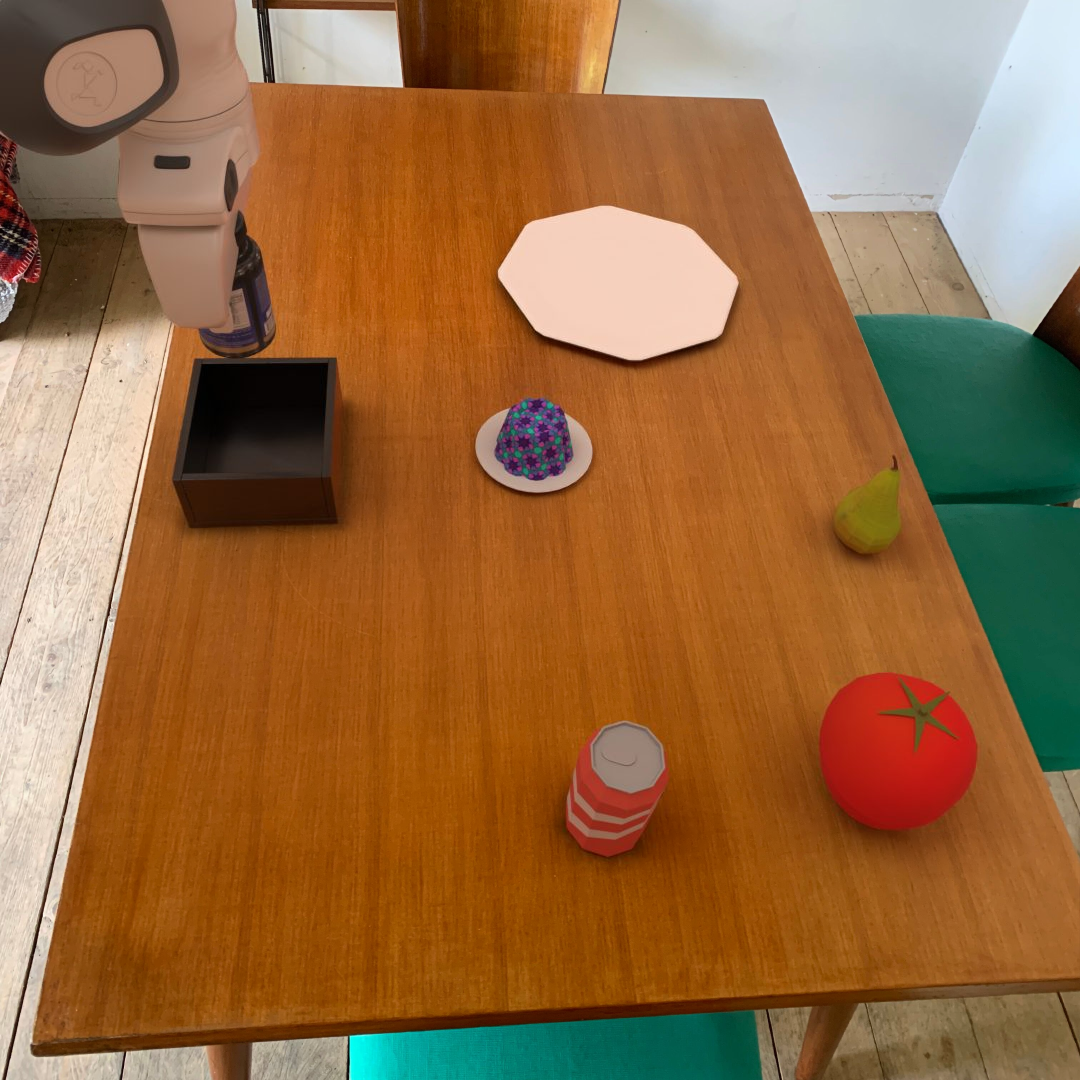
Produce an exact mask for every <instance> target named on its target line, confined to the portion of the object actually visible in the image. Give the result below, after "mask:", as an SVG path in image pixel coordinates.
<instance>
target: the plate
mask: <svg viewBox="0 0 1080 1080" xmlns="http://www.w3.org/2000/svg"><path fill="white" fill-rule="evenodd" d="M497 279H498V281H499V282H500V284H501V285H502V286H503V288H504V289H505V291H506V292H507V294H508V295H509V297H510V298H511V299H512V301H513V302H514V303H515V305H516V306H517V308H518V309H519V311H520V312H521V314H522V315H523V316H524V317H525V319H526V320H527V322H528V323H529V325H530V326H531V327H532V329H533V330H534V332H535V333H537V334H538V335H540V336H542V337H543V338H546V339H550V340H553V341H557V342H560V343H564V344H567V345H571V346H573V347H578V348H581V349H583V350H588V351H592V352H595V353H598V354H602V355H604V356H605V355H606V356H609V357H612V358H616V359H619V360H623V361H626V362H644V361H648V360H651V359H653V358H657V357H660V356H664V355H667V354H671V353H674V352H675V353H676V352H678V351H682V350H685V349H689V348H693V347H695V346H699V345H702V344H706V343H709V342H712V341H715V340H717V339H718V338H719V337H721V336H722V335H723V332H724V329H725V325H726V323H727V319H728V317H729V313H730V311H731V307H732V305H733V303H734V302H733V301H734V298H735V296H736V293H737V290H738V287H739V284H740V282H739V279H738V276H737V275H736V274H735V273H734V272H733V271H732V270H731V269H730V268H729V266H728V265H726V263H725V262H724V261H723V260H722V259H721V258H720V257H719V255H717V254H716V252H715V251H714V250H713V249H712V248H711V247H710V246H709V245H708V244H707V243H706V241H704V239H702V237H701V236H700V235H699V234H698V233H697V232H696V231H695V229H692V228H690V227H689V226H687V225H686V224H681V223H677V222H675V221H671V220H667V219H662V218H659V217H655V216H652V215H651V216H650V215H648V214H644V213H640V212H636V211H631V210H628V209H625V208H622V207H617V206H613V205H599V206H594V207H593V206H592V207H589V208H585V209H580V210H576V211H571V212H566V213H562V214H558V215H553V216H549V217H545V218H540V219H535V220H532V221H530V222H529V223H527V224H526V225H524V226H523V229H522V230H521V232H520V233H519V235H518V237H517V238H516V240H515V242H514V243H513V245H512V246H511V248H510V250H509V251H508V253H507V255H506V257H505V258H504V260H503V262H502V263H501V264H500V266H499V268H498V269H497Z"/></svg>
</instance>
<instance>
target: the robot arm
mask: <svg viewBox="0 0 1080 1080" xmlns="http://www.w3.org/2000/svg"><path fill="white" fill-rule="evenodd" d="M237 20H238V14H237V6H236V1H235V0H0V136H2V137H4V138H6V139H7V140H10V141H11V142H13V143H15V144H16V145H18V146H19V147H21V148H24V149H26V150H28V151H29V152H30V151H31V152H33V153H36V154H41V155H46V156H52V157H67V156H68V157H69V156H75V155H80V154H84V153H86V152H88V151H91V150H94V149H95V148H97V147H99V146H101V145H103V144H105V143H107V142H109V141H110V140H112V139H113V138H115V137H116V139H117V145H118V152H119V153H118V154H119V158H118V178H117V201H118V205H119V209H120V211H121V215H122V217H123V220H124V221H125V223H127V224H135V225H137V233H138V234H137V235H138V241H139V246H140V249H141V253H142V257H143V259H144V263H145V265H146V268H147V269H146V270H147V272H148V275H149V277H150V281H151V283H152V286H153V288H154V290H155V293H156V296H157V298H158V301H159V303H160V306H161V308H162V311H163V312H164V315H165V317H166V319H167V320H168V321H169V322H170V323H171V324H172V325H174V326H175V327H177V328H179V329H194V330H195V329H197V330H198V329H208V328H209V329H210V330H211V331H212V332H214V333H231V332H232V331H233V329H234V323H235V314H234V309H233V305H232V303H230V297H231V291H232V286H233V280H234V275H235V269H236V263H237V258H238V249H239V247H238V246H237V244H236V239H235V235H234V231H235V226H236V221H237V215H238V210H239V211H241V212H242V214H243V216H244V219H245V218H246V212H247V207H248V202H249V195H250V191H251V185H252V180H253V167H254V166H255V165H256V163H258V160H259V158H260V155H261V141H260V136H259V130H258V125H257V124H258V123H257V119H256V113H255V108H254V102H253V96H252V91H251V85H250V79H249V75H248V72H247V69H246V67H245V65H244V63H243V61H242V59H241V56H240V54H239V51H238V47H237V41H236V31H237V22H238V21H237ZM245 220H246V219H245Z"/></svg>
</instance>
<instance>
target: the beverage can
mask: <svg viewBox="0 0 1080 1080" xmlns="http://www.w3.org/2000/svg"><path fill="white" fill-rule="evenodd" d="M669 780H670V776H669V767H668V760H667V751H665V749H664V745H663V743H662V742H661V741H660V740H659V739H658V738H657V737H656V736H655V734H654V733H653V732H652V731H651V730H650V728H649V727H647V726H644V725H641V724H638V723H634V722H631V721H627V720H626V719H625V720H621V721H618V722H615V723H614V722H613V723H611V724H608V725H603V726H602V728H599V729H595V730H594V731H593V732H592V733H591V735H590V737H588V739H587V741H586V742H585V743H584V745H583V746H582V748H580V750H579V753H578V756H577V760H576V764H575V767H574V770H573V775H572V779H571V781H570V785H569V789H568V793H567V797H566V800H565V820H566V822H565V823H566V829H567V830H568V831H569V833H570V834H571V836H572V837H573V838H574V839H575V841H576V842H577V844H578V845H579V846H580V847H581V849H583V850H585V851H588V852H591V853H594V854H598V855H600V856H604V857H607V858H610V857H612V856H615V855H618V854H621V853H624V852H627V851H630V850H632V849H634V846H635V845H636V843H637V842H638V840H639V839H640V837H641V835H642V834H643V832H644V830H645V829H646V827H647V825H648V823H649V821H650V820H651V817H652V815H653V813H654V811H655V809H656V807H657V805H658V803H659V801H660V799H661V796H662V795H663V792H664V791H665V788H666V787H667V785H668V782H669Z"/></svg>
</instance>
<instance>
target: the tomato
mask: <svg viewBox="0 0 1080 1080" xmlns="http://www.w3.org/2000/svg"><path fill="white" fill-rule="evenodd" d="M949 693H950V691H947V692H946V691H945V690H944V689H943V688H941V687H940V686H938V685H936V684H934V683H933V682H930V681H928V680H925V679H922V678H919V677H915V676H911V675H906V674H903V673H897V672H887V671H886V672H875V673H870V674H866V675H861V676H857V677H856V678H854V679H853V680H852V681H850V682H849V683H848V684H846V685H845V686H843V687H841V688H839V690H838V691H837V692H836V693H835V695H834V696H833V698H832V699H831V701H830V702H829V704H828V706H827V708H826V709H825V712H824V714H823V718H822V721H821V724H820V725H821V726H820V730H819V740H818V748H819V749H818V750H819V760H820V761H819V762H820V769H821V773H822V776H823V779H824V782H825V785H826V788H827V789H828V791H829V793H830V795H831V797H832V798H833V800H834V801H835V802H836V803H837V805H838V806H839V807H840V808H841V810H843V811H844V812H845V813H846V814H847V815H848V816H849V817H851V818H853V819H854V820H855V821H857V822H858V823H860V824H862V825H865V826H868V827H870V828H873V829H878V830H882V831H883V830H884V831H885V830H886V831H905V830H906V831H907V830H910V829H911V830H912V829H915V828H920V827H924V826H927V825H929V824H931V823H933V822H936V821H937V820H938V819H939V818H941V817H942V816H944V815H945V814H947V812H948V811H950V810H951V809H952V808H953V807H955V805H956V804H957V803H958V802H959V801H960V800H961V799H962V798H963V797H964V795H965V794H966V792H967V791H968V790H969V788H970V786H971V783H972V782H973V778H974V775H975V771H976V768H977V763H978V742H977V739H976V736H975V732H974V729H973V726H972V725H971V722H970V720H969V719H968V717H967V715H966V714H965V712H964V711H963V709H962V708H961V706H960V705H959V704H958V702H956V700H955V699H954V698H953V697H952V696H951V695H950V694H949Z"/></svg>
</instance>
